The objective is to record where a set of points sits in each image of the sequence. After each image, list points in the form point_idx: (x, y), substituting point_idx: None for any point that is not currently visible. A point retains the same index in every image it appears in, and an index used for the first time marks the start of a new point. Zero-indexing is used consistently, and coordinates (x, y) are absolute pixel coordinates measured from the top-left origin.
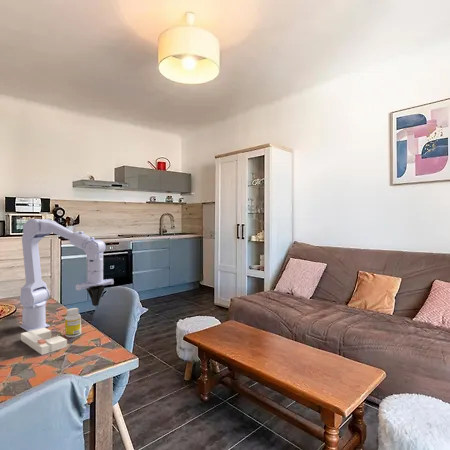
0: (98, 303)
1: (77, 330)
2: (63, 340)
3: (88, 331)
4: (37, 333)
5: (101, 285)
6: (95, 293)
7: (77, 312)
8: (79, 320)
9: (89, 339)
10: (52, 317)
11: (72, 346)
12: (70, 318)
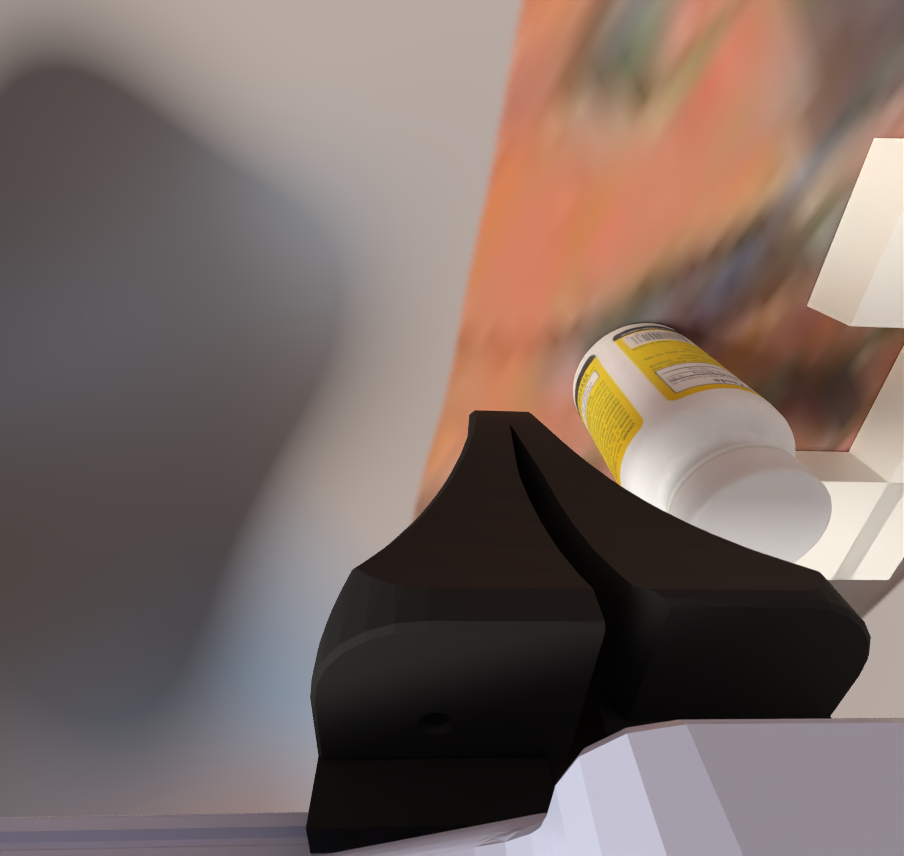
0: (476, 419)
1: (660, 339)
2: None
3: (511, 355)
4: (859, 503)
5: (375, 812)
6: (648, 533)
7: (730, 453)
8: (672, 386)
9: (641, 143)
10: None
11: (845, 106)
12: (787, 425)
